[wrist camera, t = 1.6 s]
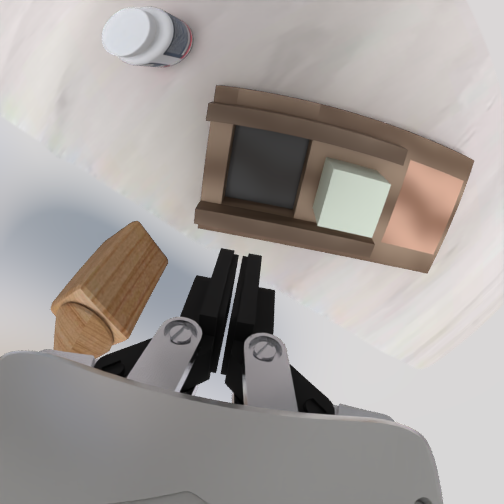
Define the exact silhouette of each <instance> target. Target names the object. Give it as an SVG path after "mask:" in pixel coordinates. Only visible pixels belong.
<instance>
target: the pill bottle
mask: <svg viewBox="0 0 504 504" xmlns="http://www.w3.org/2000/svg"><path fill="white" fill-rule="evenodd" d="M102 43H103V46H104V48H105V49H106V51H107V52H109V53H110V54H112V55H114V56H118V57H119V58H120V59H121V60H122V61H124V62H125V63H128V64H131V65H137V66H152V67H168V66H172V65H174V64H177V63H178V62H180V61H181V60H183V59H184V58H185V57H186V56H187V54H188V53H189V51H190V49H191V47H192V43H193V36H192V32H191V29H190V28H189V26H188V25H187V24H186V23H184V22H183V21H182V20H180V19H178V18H176V17H174V16H173V15H171V14H169V13H167V12H165V11H163V10H161V9H159V8H156V7H141V8H135V7H129V8H125V9H122V10H120V11H118V12H116V13H115V14H114V15H113V16H111V17H110V19H109V20H108V21H107V23H106V24H105V26H104V29H103V32H102Z"/></svg>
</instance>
